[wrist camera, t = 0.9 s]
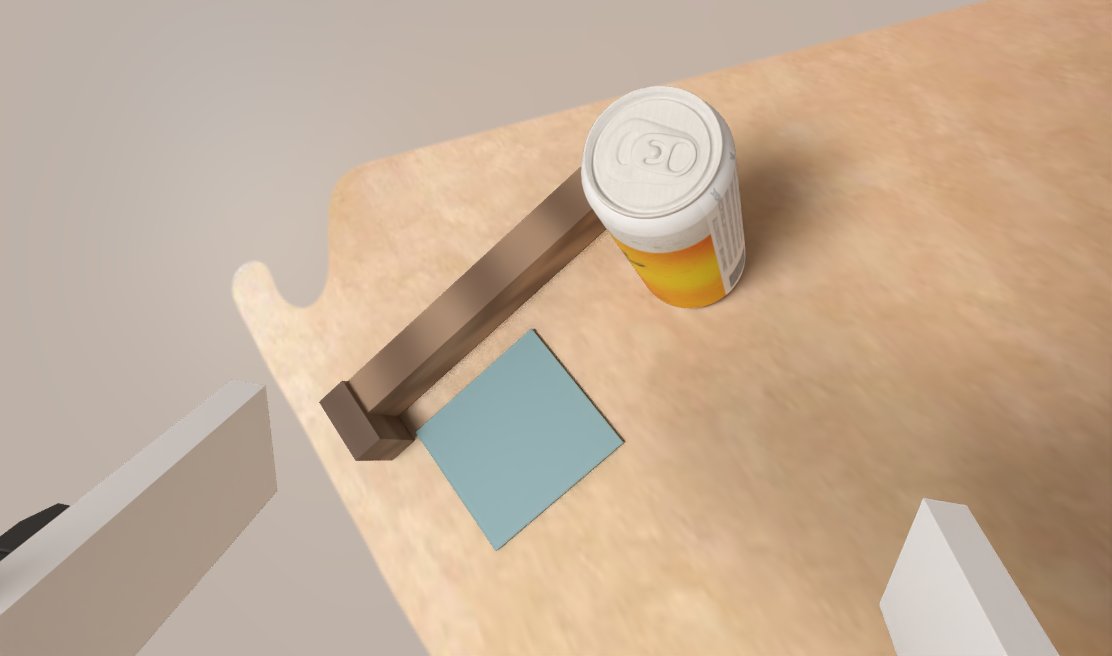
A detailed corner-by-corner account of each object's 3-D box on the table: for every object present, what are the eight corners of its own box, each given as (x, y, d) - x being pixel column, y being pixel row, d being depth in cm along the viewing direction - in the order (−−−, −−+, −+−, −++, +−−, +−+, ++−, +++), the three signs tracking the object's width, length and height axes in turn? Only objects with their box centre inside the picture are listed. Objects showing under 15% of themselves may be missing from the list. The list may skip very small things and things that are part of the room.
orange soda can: (659, 202, 40) (601, 65, 26) (759, 224, 38) (754, 88, 24) (628, 296, 40) (552, 208, 26) (728, 323, 37) (705, 243, 23)
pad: (532, 329, 41) (531, 328, 41) (623, 442, 38) (623, 442, 38) (417, 432, 42) (415, 432, 42) (497, 550, 39) (495, 550, 39)
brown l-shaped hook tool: (634, 153, 41) (621, 123, 37) (682, 201, 40) (673, 174, 36) (357, 406, 44) (319, 401, 40) (392, 460, 42) (355, 460, 39)
